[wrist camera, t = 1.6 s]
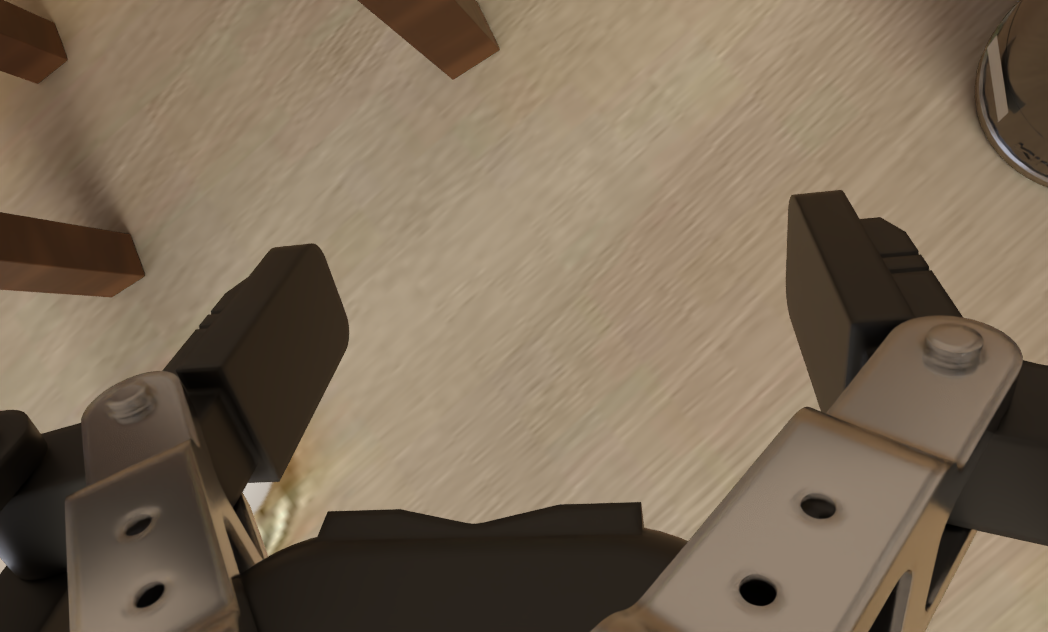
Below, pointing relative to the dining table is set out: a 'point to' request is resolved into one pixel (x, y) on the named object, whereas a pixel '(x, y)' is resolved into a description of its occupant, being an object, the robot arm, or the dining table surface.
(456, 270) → the dining table surface
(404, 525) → the robot arm
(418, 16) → the hob stand
